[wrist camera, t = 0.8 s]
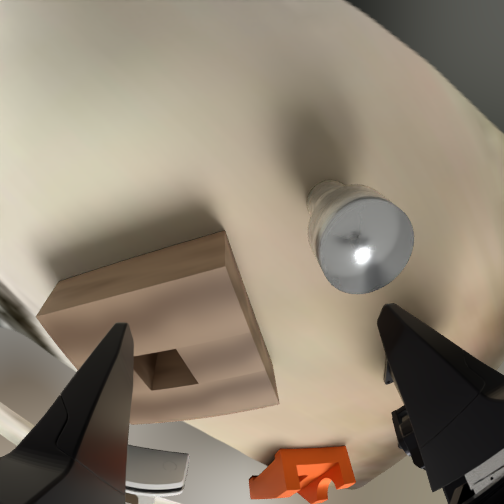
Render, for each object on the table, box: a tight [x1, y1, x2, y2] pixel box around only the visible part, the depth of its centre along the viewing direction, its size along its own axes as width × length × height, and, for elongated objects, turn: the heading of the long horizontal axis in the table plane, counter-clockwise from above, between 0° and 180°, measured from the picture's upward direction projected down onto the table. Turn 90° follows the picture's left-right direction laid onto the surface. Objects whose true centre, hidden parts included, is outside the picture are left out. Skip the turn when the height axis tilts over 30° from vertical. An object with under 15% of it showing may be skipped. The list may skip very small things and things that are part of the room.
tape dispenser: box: [249, 446, 356, 504], centre depth 44 cm, size 18×13×8 cm
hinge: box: [125, 445, 189, 496], centre depth 37 cm, size 17×5×10 cm, turn 78°
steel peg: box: [307, 180, 414, 294], centre depth 19 cm, size 6×6×8 cm
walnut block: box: [36, 231, 279, 425], centre depth 25 cm, size 16×16×5 cm
